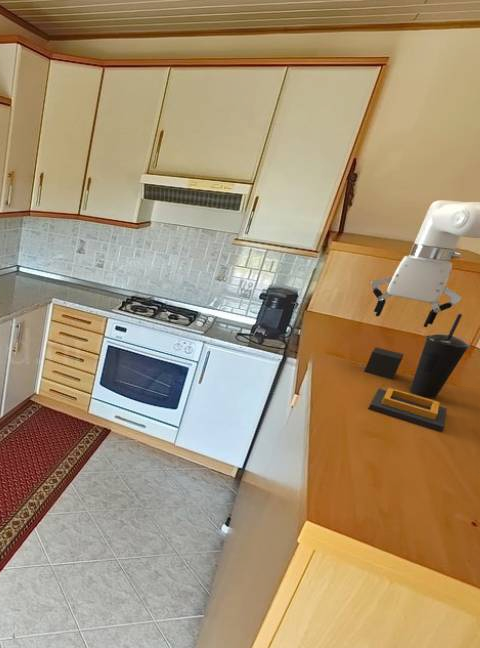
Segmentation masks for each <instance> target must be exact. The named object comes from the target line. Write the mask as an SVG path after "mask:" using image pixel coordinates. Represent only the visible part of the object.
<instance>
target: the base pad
mask: <svg viewBox="0 0 480 648" xmlns="http://www.w3.org/2000/svg"><path fill="white" fill-rule="evenodd" d="M368 410H370V411H373V412H377V413H379V414H383V415H386V416H389V417H391V418H392V417H393V418H395V419H399V420H402V421H405V422H407V423H412V424H415V425H418V426H422V427H425V428H427V429H430V430H432V431H437V432H440V433H442V432H443V431H444V429H445V426H446V419H447V418H446V417H447V410H448V408H447V407H443V406H440V401H437V400H434V399H431V398H427V397H423V396H419V395H416V394H414V393H409V392H406V391H402V390H399V389H395V388H392V387H388V389H387V390H386V389H383V388H378V389H377V391H376V393H375V395H374V397H373V399H372V400H371V402H370V404H369V406H368Z"/></svg>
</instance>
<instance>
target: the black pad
mask: <svg viewBox="0 0 480 648" xmlns="http://www.w3.org/2000/svg"><path fill="white" fill-rule="evenodd" d="M370 354H371V355H370V356H369V358H368V361H367V363H366V366H365V368H364V373H367V374H368V373H369V374H372V375H375V376H379V377H383V378H387V379H391V380H393V379H394V378H395V376H396V374H397V371H398V369H399V366H400V365H401V362H402V360H403V357H404V353H401V352H396V351H392V350H388V349H384V348H380V347H374V349H373V351H372V352H371V353H370Z"/></svg>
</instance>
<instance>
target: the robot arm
mask: <svg viewBox="0 0 480 648" xmlns="http://www.w3.org/2000/svg"><path fill="white" fill-rule="evenodd" d="M461 238H469V239H470V238H472V239H480V201H457V200H447V199H439V200H435V201H433V202H432V203H431V204H430V206H429V208H428V210H427V212H426V214H425V216H424V220H423V221H422V224H421V226H420V228H419V231H418V233H417V236H416V238H415V240H414V242H413V244H412V247H411V250H410V252H409V254H408V255H404V256H403V258H402V259H401V261H400V262H399V264H398V266H397V267H396V270H395V272H394V274H393V276H391V277H386V278H380V279H376V280H375V279H374V280H373V281H371V283H370V284H371V289H372V293H373V294H374V296H375V297H376V299H377V303H376V305H375V307H374V310H373V312H374V313H375V315H374V316H375V317H380V315H381V314H382V312H383V309H384V307H385V305H386V303H387V301H386V299H388V298H390V297H393V296H394V297H397V298H402V299H406V300H412V301H415V302H416V301H417V302H422V303H427V304H428V303H429V305H430V307H431V308H432V309H431V310H430V311H429V312H428V315H427V317H426V319H425V322H424V324H423V327H424V328H428V326H429V325H433V324H434V321H435V319H436V317H437V315H438V313H440V312H442V311H446V310H449V309H451V307H453V306H454V305H456V304H457V303H459V302H460V301H461V300H462V296H460V295H458V294H457V293H456V292H454V291H453V290H451V289H449V287H447V283H448V281H449V278H450V276H451V271H452V269H453V262H450V260H455V259H456V260H459V259H460V258H461V255H462V253H461V252H458V251H456V250H455V249H457V246H458V243H459V241H460V239H461ZM385 284H388V287H387V290H386V292H384V293H383V292H382V291H381V289H380V285H385ZM443 294H444V295H446V296H447V297H448V298H449V300H448V301H447V302H444V303H442V304H440V303H439V300H440V298H441V297H442V295H443Z"/></svg>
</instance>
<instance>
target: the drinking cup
mask: <svg viewBox="0 0 480 648" xmlns="http://www.w3.org/2000/svg"><path fill="white" fill-rule="evenodd" d="M462 317H463V314H461V313H458V314H457V316H456V318H455V320H454V323H453V325H452V327H451V329H450V331H449V333H448V334H443V333H442V334H441V333H437V334H428V335H425V342H424V346H423V348H422V351H421V355H420V358H419V360H418V364H417V367H416V369H415V373H414V376H413V380H412V382H411V385H410V387H409V392H410V393H411V394H413V395H416V396H420V397H423V398H427V399H436V398H437V396H438V395H439V393H440V392H441V390H442V389H443V387H444V385H445V384H446V382H447V381H448V379H450V376H451V375H452V374H453V372H454V370H455V368H456V367H457V366H458V364H459V362H460V360H461V359H462V357H463V356H464V355H465V353H466V352H467V350H469V349H470V348H471V345H470V344H469V343H467V342H466V341H465V340H463V339H461V338H459V337H457V336H454V333H455V332H456V329H457V327H458V325H459V323H460V321H461V319H462Z"/></svg>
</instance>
